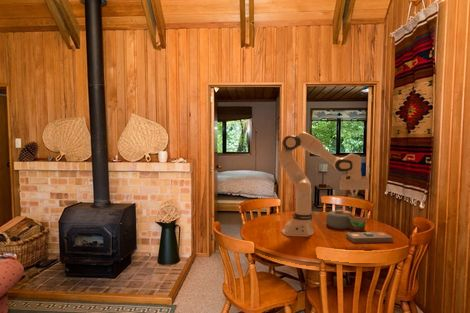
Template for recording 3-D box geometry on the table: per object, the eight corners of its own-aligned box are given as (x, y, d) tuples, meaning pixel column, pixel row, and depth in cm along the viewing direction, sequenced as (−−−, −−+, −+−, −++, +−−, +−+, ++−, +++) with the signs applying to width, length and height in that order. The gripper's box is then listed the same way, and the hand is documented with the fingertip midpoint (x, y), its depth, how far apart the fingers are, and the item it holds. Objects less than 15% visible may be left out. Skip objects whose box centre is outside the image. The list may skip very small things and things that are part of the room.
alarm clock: (358, 226, 226) (358, 211, 225) (339, 230, 217) (339, 214, 216) (339, 221, 243) (339, 206, 242) (321, 224, 234) (321, 209, 234)
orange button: (380, 238, 195) (380, 235, 194) (377, 236, 199) (377, 233, 198) (386, 238, 195) (386, 235, 195) (383, 236, 199) (383, 233, 199)
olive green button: (367, 237, 194) (367, 234, 194) (364, 235, 198) (364, 232, 198) (373, 236, 194) (373, 234, 194) (370, 235, 198) (370, 232, 198)
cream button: (353, 238, 194) (353, 236, 194) (351, 237, 198) (351, 234, 198) (359, 238, 194) (359, 235, 194) (356, 236, 198) (356, 234, 198)
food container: (348, 230, 216) (348, 217, 215) (348, 228, 222) (348, 215, 221) (367, 232, 211) (367, 218, 211) (366, 230, 217) (366, 216, 217)
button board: (353, 242, 190) (353, 238, 190) (345, 237, 202) (345, 232, 202) (392, 241, 191) (392, 237, 191) (382, 236, 203) (382, 231, 203)
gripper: (366, 175, 211) (366, 194, 211) (338, 176, 210) (338, 195, 211) (371, 176, 205) (370, 196, 205) (342, 177, 204) (342, 197, 204)
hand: (354, 195), depth 208 cm, fingers closed
